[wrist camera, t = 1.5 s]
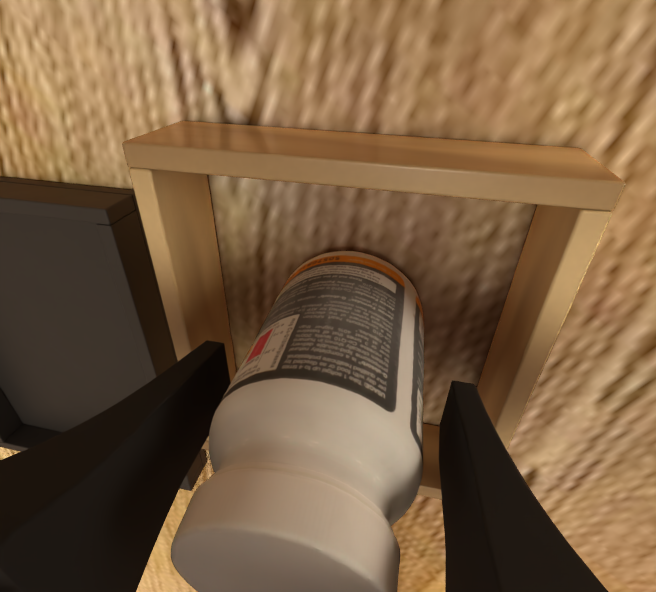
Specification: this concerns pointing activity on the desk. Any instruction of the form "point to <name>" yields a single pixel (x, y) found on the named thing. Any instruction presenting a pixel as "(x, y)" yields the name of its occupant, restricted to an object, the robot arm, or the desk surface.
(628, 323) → the desk surface
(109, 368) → the tray
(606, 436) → the desk surface
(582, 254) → the wooden frame
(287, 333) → the pill bottle
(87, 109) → the desk surface
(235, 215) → the desk surface
